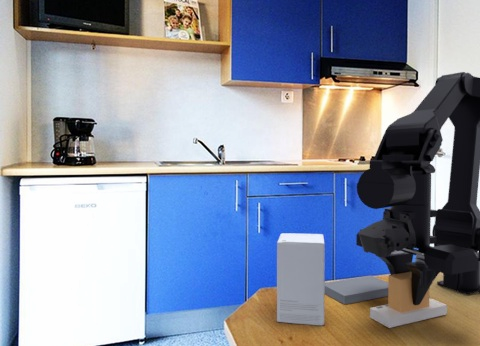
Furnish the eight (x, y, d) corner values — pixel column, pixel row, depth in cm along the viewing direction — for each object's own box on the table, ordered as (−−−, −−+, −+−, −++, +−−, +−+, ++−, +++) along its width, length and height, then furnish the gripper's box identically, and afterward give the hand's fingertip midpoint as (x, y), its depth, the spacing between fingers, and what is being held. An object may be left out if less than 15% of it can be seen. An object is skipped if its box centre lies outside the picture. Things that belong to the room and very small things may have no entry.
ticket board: (370, 282, 76) (370, 275, 76) (397, 294, 69) (397, 286, 69) (320, 291, 71) (320, 283, 71) (344, 304, 64) (344, 295, 64)
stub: (425, 305, 63) (426, 267, 63) (446, 314, 60) (447, 273, 60) (369, 317, 59) (370, 276, 59) (389, 328, 55) (389, 284, 55)
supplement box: (325, 326, 56) (325, 243, 56) (275, 322, 58) (275, 241, 57) (324, 307, 63) (324, 233, 63) (280, 304, 65) (279, 231, 64)
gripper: (331, 199, 64) (330, 289, 65) (421, 214, 47) (419, 337, 47) (382, 196, 68) (381, 280, 69) (482, 209, 51) (479, 322, 52)
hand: (408, 301), depth 59 cm, fingers closed on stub, 2 cm apart
